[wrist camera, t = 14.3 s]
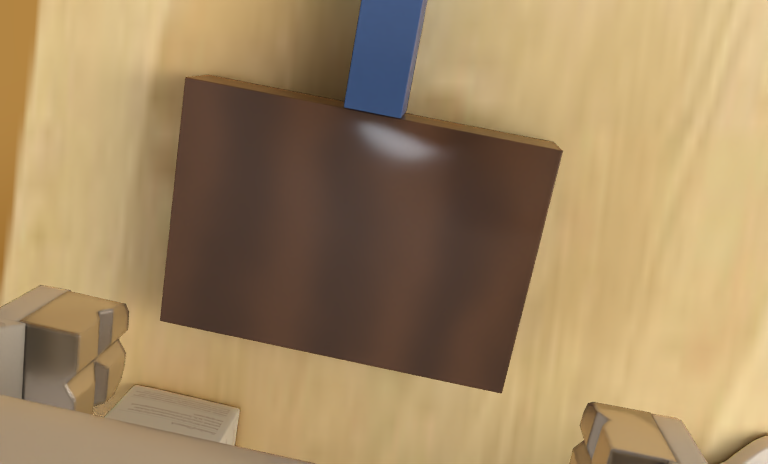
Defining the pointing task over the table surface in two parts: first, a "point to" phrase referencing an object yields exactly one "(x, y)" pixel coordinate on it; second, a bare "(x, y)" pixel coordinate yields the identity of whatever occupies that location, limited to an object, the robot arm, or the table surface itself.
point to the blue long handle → (384, 56)
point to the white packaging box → (177, 414)
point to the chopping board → (354, 230)
